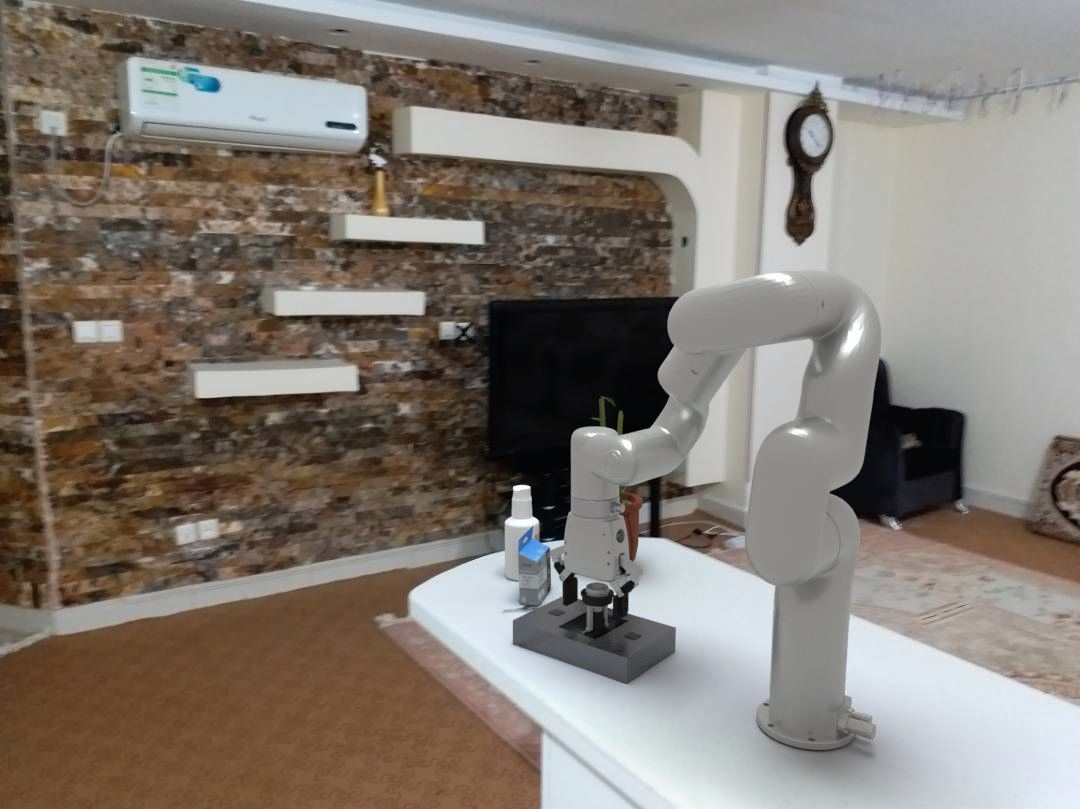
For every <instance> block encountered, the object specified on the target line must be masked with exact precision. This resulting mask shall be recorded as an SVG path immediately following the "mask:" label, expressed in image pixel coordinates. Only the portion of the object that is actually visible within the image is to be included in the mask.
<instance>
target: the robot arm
mask: <svg viewBox="0 0 1080 809" xmlns="http://www.w3.org/2000/svg"><path fill="white" fill-rule="evenodd" d="M668 313H669V314H668V318H667V324H666V325H667V334H668V337H669V339H670V342H671V343H672V344H673V347H672V349H671V350H670V352H669V354H668V355H667V357H666V358H665V359H664V361H663V362H662V363H661V365H660V367H659V369H658V372H657V380H658V382H659V385H660V386H661V387H662V389H663V390H664V392H665V393H666V394H667V395H669V397H668V399H667V402H666V404H665V406H664V407H663V409H662V410H661V412H660V414H659V416H658V417H657V418H656V419H655V421H654V423H653V424H652V425H651V426H650V427H649V428H645V429H641V430H637V431H632V432H629V433H625V434H622V435H618V433H617V430H615V429H613V428H609V427H607V426H606V427H600V426H584V427H579V428H577V429H575V430H574V431H573V433H572V434H571V439H570V469H571V470H570V487H571V488H570V511H569V512H568V515H567V518H566V524H565V528H564V536H563V537H564V538H563V545H560V546H557V547H555V548H553V549H550V559H551V561H552V563H553V567H554V570H555V571H556V572H557V574H558V575H559V576H558V579H559V580H560V582H562V585H561V586H562V588H561V589H562V596H563V605H564V606H568V605H570V604H572V603H574V602H576V601H577V600H578V599H579V591H578V589H579V587H578V586H579V584H578V582H579V580H578V577H577V576H581V577H585V578H589V579H593V580H597V581H600V582H603V583H604V582H605V583H609V584H610V586H611V588H612V590H613V591H614V596H613V601H612V609H613V619H614V620H616V621H618V620H620V619H622V618H623V617H625V616H627V613H628V612H629V606H630V605H629V602H630V601H629V598H630V593H631V592H633V590H634V589H635V588H636V587H637V586H638V585H639V582H640V581H641V579H642V577H643V576H644V570H643V568H641V567H640V566H639V565H638V564H636V563H635V561H634V562H632V561H631V560H630V559H629V545H628V536H627V529H626V524H625V520H624V516H622V515H619V513H623V512H624V511H625V505H624V504H621V503H620V497H619V486H627V487H630V486H635V485H638V484H641V483H644V482H648V481H649V480H650V481H651V480H653V479H656V478H659V477H663V476H665V475H668V474H670V473H671V472H673V471H675V470H676V469H677V468H678V467H679V466H680V465H681V464H682V463H683V462H684V460H685V459H686V458H687V456H688V455H689V454H690V452H691V451H692V450H693V448H694V447H695V445H696V444H697V443H698V441H699V439H701V436H702V434H703V433H704V430H705V428H706V426H707V421H708V417H709V413H710V403H711V402H712V400H713V398H715V396H716V394H717V393H718V391H719V390H720V389H721V387H722V385H723V383H725V381H726V379H727V378H728V377H729V375H730V374H731V372H732V371H733V369H734V368H735V367H736V365H737V364H739V361H740V360H741V358H743V356H744V355H745V353H746V352H747V351H748V349H750V348H751V349H752V348H757V347H763V346H770V345H776V344H784V343H790V342H798V341H805V340H811V342H812V351H811V354H810V357H809V359H808V361H807V364H806V367H805V369H804V372H803V376H802V381H801V392H800V393H801V394H800V397H799V403H798V409H797V413H796V415H795V418H794V419H793V420H791V421H787V422H785V423H782V424H780V425H778V426H777V427H775V428H773V430H772V431H770V432H769V433H768V434H767V435H766V436H765V438H764V439H763V441H762V442H761V444H760V446H759V448H758V451H757V454H756V457H755V460H754V465H753V470H752V472H753V473H752V477H751V478H752V480H751V485H750V492H749V494H750V495H749V501H748V508H747V509H748V510H747V513H746V514H747V515H746V523H745V530H744V531H745V533H744V546H745V553H746V556H747V560H748V561H749V562H748V563H749V564H750V567H751V568H752V570H753V571H754V572H755V574H756V575H757V576H758V577H759V578H760V579H761V580H762V581H764V582H765V583H768V584H769V585H771V586H773V587H774V586H775V587H774V595H773V596H774V597H773V610H772V631H771V634H772V635H771V649H770V650H771V653H770V675H769V676H770V677H769V678H770V679H769V698H767V699H766V700H764V701H762V702H761V703H760V704H759V705H758V707H757V709H756V722H757V726H759V728H760V729H761V730H762V731H763V732H764V733H765V734H766V735H767V736H769V737H771V738H772V739H774V740H775V741H778V742H780V743H782V744H784V745H788V746H790V747H794V748H799V749H803V750H810V751H811V750H812V751H816V750H817V751H826V750H834V749H837V748H839V749H840V748H842V747H844V746H846V745H848V744H849V743H850V742H853V739H854V738H855V736H856V735H857V736H858V737H861V738H865V739H866V740H867V739H868V740H871V741H873V740H874V738H875V737H876V733H877V726H876V724H874V723H873V716H872V715H869V714H866V713H863V712H862V713H861V712H858V711H856V710H855V709H854V708H853V707H852V703H853V701H852V699H853V697H851V696H849V695H846V682H847V680H846V678H847V665H848V664H847V661H848V660H847V659H848V648H849V647H848V646H849V631H850V629H849V628H850V619H851V617H850V616H851V602H852V592H853V582H854V578H855V572H856V567H857V562H858V559H859V558H858V557H859V554H860V553H859V552H860V546H861V545H860V544H861V529H860V528H861V527H860V522H859V520H858V517H857V515H856V513H855V512H854V511H855V510H854V509H853V508H852V507H851V506H850V505H849V504H848V503H847V502H846V501H845V500H844V499H843V498H841V497H839V496H837V495H835V494H832V493H830V492H832V491H834V490H837V489H839V488H840V487H843V486H845V485H847V484H848V483H851V481H853V480H854V479H855V478H856V477H857V475H858V474H860V471H861V469H862V467H863V464H864V460H865V455H866V447H867V441H868V434H869V428H870V427H869V426H870V420H871V414H872V408H873V401H874V391H875V385H876V379H877V373H878V369H879V368H878V367H879V362H880V356H881V349H882V327H881V320H880V317H879V314H878V311H877V308H876V307H875V305H874V303H873V301H872V299H871V298H870V297H869V295H868V294H867V293H866V292H865V291H864V290H863V289H862V288H861V287H860V286H858V285H857V284H856V283H855V282H853V281H852V280H851V279H849V278H847V277H845V276H843V275H840V274H838V273H835V272H830V271H826V270H813V269H810V270H808V269H807V270H781V271H770V272H766V273H761V274H758V275H757V274H756V275H751V276H748V277H744V278H740V279H736V280H731V281H728V282H724V283H719V284H715V285H709V286H705V287H700V288H699V287H698V288H695V289H692V290H690V291H688V292H686V293H684V294H682V295H681V296H680V297H679V298H677V300H676V301H675V302H674V303H673V306H672V308H671V309H670V311H669V312H668ZM628 574H629V575H630V576H629V579H627V577H626V576H627V575H628ZM576 575H577V576H576ZM628 614H629V613H628Z"/></svg>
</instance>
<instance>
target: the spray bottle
mask: <svg viewBox="0 0 1080 809" xmlns="http://www.w3.org/2000/svg"><path fill="white" fill-rule="evenodd" d="M512 491H513V492H512V498H511V516H510V517H508V518H507V519H506V520H505V521H504V576H505V577H506V578H507V579H509V580H511V581H515V582H517V581H518V582H519V568H518V540H519V539H520V538H521V537H522V536H523V534H524V533H525V532H527V531H528V530H529V529H530V528H531V527H532V526H534V527H533V533H532V538H533V539H535V540H537V541H539V542H540V521H539V519H538V518H536V517H534V516H533V504H532V502H533V500H532V498H533V497H532V495H531V494H532V491H531V486H529V485H527V484H519V485H513V487H512ZM526 540H527V538H526V537H525V540H524V541H523V543H524V542H525V541H526Z"/></svg>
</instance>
